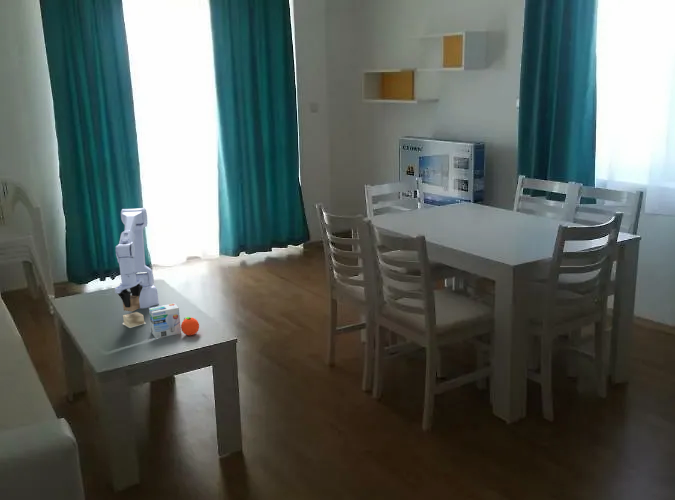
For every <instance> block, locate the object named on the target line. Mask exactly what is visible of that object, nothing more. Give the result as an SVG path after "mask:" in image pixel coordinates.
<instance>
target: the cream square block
mask: <svg viewBox="0 0 675 500" xmlns="http://www.w3.org/2000/svg"><path fill="white" fill-rule="evenodd" d="M122 317H123V323H124V324H126V325H127V326H129V327H132V328H134V327H133V326H135V327H137V326H136V325H139V326H141V325H140V324H142V325H145V324H144V322H145V319H144V318H145V317H144V314H142V313H141V312H138V311H133V312H130V313H127V314H123V315H122ZM127 326H126V327H127ZM129 327H128V328H129Z"/></svg>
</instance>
